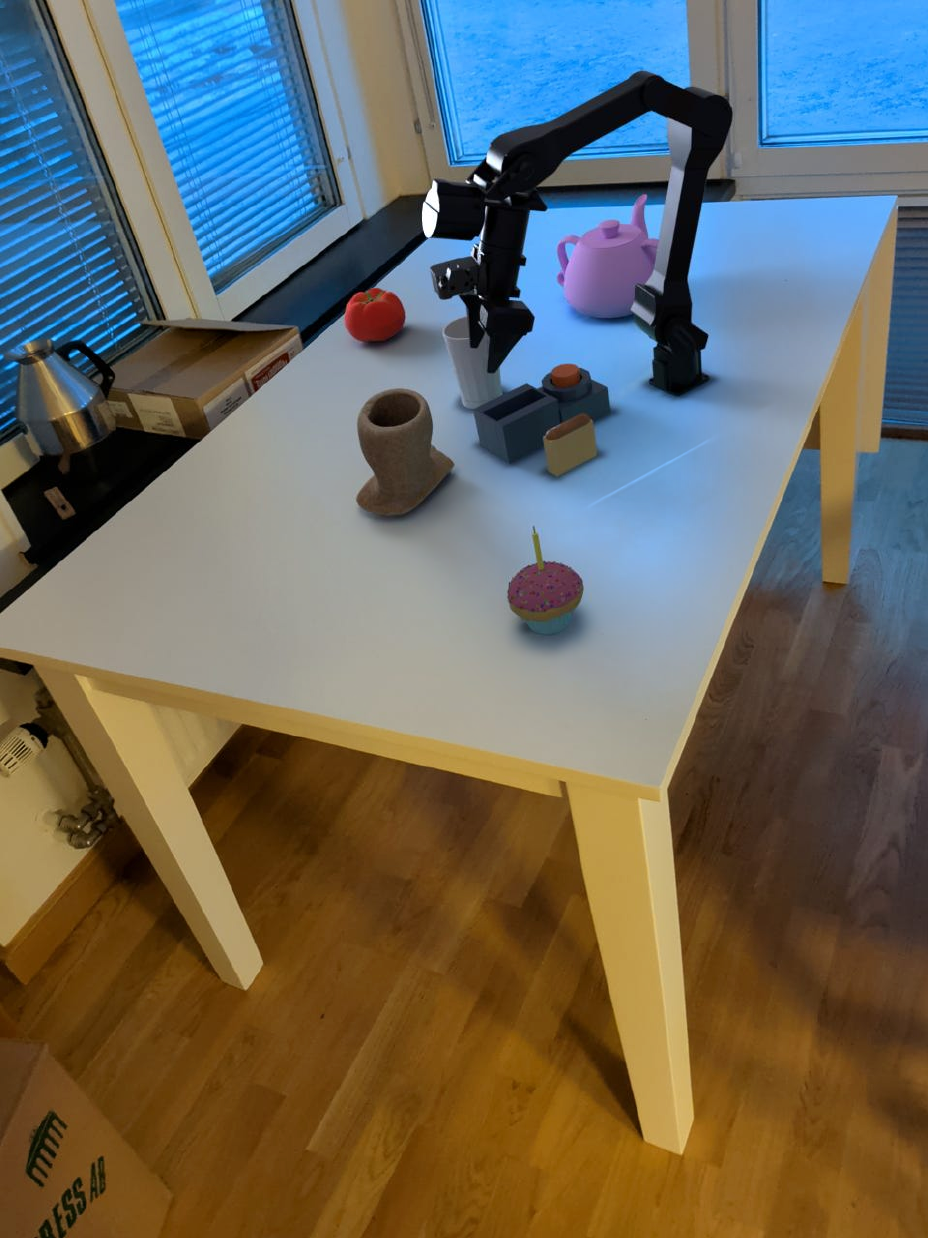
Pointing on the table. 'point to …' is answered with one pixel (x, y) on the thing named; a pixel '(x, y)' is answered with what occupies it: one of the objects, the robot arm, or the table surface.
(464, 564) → the table surface
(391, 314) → the tomato
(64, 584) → the table surface
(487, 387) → the cup
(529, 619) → the cupcake
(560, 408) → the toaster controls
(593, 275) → the teapot
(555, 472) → the tan slab
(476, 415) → the toaster
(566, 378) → the button
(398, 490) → the stone cup
